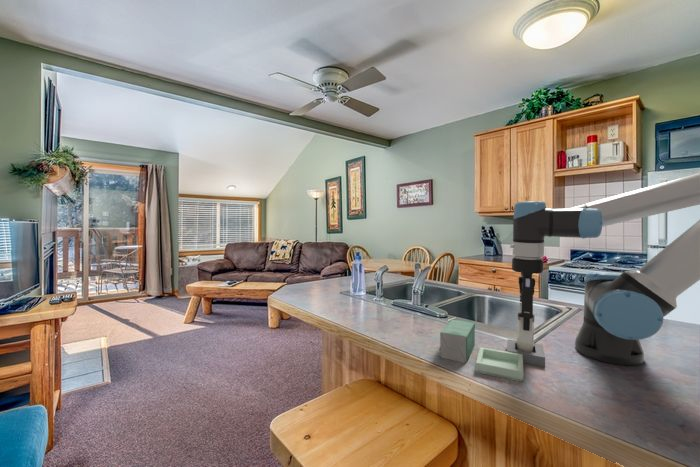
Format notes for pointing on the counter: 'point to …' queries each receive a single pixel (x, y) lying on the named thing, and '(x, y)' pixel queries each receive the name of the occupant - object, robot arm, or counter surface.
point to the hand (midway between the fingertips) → (524, 332)
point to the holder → (528, 353)
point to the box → (457, 340)
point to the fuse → (525, 345)
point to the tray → (500, 364)
